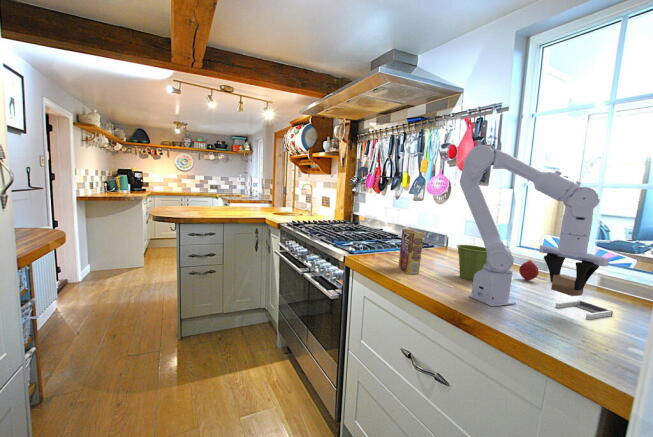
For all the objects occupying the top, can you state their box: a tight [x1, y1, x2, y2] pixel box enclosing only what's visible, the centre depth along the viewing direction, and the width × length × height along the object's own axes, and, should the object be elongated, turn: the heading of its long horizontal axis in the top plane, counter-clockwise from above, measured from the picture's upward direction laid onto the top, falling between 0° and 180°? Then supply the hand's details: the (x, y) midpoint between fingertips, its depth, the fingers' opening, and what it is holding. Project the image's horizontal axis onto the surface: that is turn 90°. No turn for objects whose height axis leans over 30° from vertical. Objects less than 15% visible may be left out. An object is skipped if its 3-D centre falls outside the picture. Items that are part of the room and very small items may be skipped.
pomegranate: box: [518, 258, 539, 282], centre depth 107 cm, size 6×6×8 cm
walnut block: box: [550, 273, 584, 297], centre depth 76 cm, size 4×5×4 cm
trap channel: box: [554, 299, 614, 320], centre depth 80 cm, size 11×8×1 cm
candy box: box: [397, 228, 425, 275], centre depth 109 cm, size 9×4×15 cm, turn 13°
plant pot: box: [456, 244, 487, 282], centre depth 104 cm, size 12×12×11 cm
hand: (566, 286), depth 76 cm, fingers closed on walnut block, 5 cm apart
